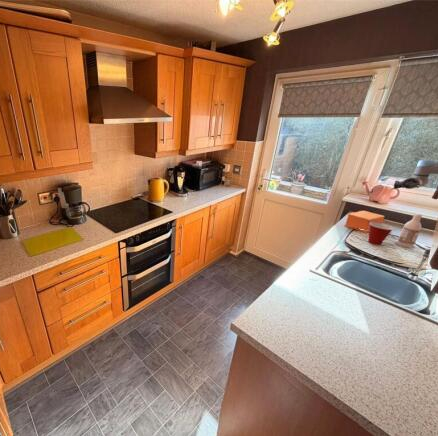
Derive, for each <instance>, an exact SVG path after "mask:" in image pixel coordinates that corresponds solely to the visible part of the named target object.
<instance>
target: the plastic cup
mask: <svg viewBox="0 0 438 436" xmlns="http://www.w3.org/2000/svg"><path fill="white" fill-rule="evenodd" d="M392 231H394V227H393V226H390V225H387V224H384V223H382V224H380V223H370V231H369V232H368V243H369V244H372V245H375V246H381V245H383V243H384V241H385V240H386V238H388V236H389V234H391V232H392Z"/></svg>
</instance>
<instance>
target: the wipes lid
mask: <svg viewBox="0 0 438 436" xmlns="http://www.w3.org/2000/svg"><path fill="white" fill-rule="evenodd" d="M349 215H351V216H354V217H358V218H361V219H365V220H368V221H370V220H375V219H379V218H383V217H384V218H385V216H386V215H382V214H378V213H375V212H370V211H367V210H358V211H355V212H350V213H347V216H349Z"/></svg>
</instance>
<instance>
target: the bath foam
mask: <svg viewBox="0 0 438 436" xmlns="http://www.w3.org/2000/svg"><path fill="white" fill-rule="evenodd" d="M422 217H423V214H420V213H414V214H413V216H412V218H411V220H409V221H407V222H406V223H405V224H404V225H403V227H402V229H401V232H400V234H399V237H398V239H397V241H396V244H397V245H398V246H400V247H402V248H408V249H409V248H410V249H412V248H413V247H415V244H416V242H417V240H418V238H419V235H420V234H421V231H422V228H423V227H422V223H421V219H422Z"/></svg>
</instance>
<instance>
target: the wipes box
mask: <svg viewBox="0 0 438 436" xmlns="http://www.w3.org/2000/svg"><path fill="white" fill-rule="evenodd" d="M384 219H385V217H383V218H379V219H375V220H370V221H368V220H365V219H361V218H358V217H354V216H351V215H347V218H346V222H345V225H344V227H348V228H350V229H354V230H357V231H359V232H363V233H369V232H370V223H380V224H383V223H384ZM357 228H360V229H364V230H369V231H364V230H360V229H357Z"/></svg>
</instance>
